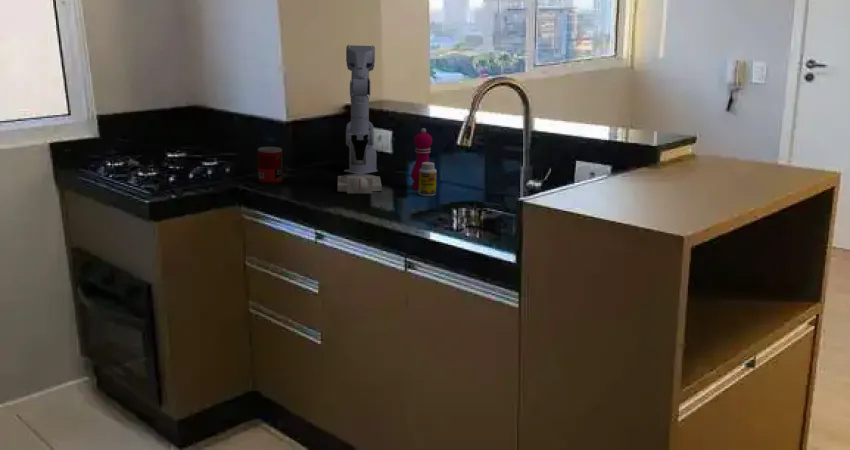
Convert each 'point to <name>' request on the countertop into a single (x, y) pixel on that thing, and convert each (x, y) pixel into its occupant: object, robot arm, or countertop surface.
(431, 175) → the supplement bottle
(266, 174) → the canned food
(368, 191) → the scale
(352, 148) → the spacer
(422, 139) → the pepper mill
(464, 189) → the countertop surface
